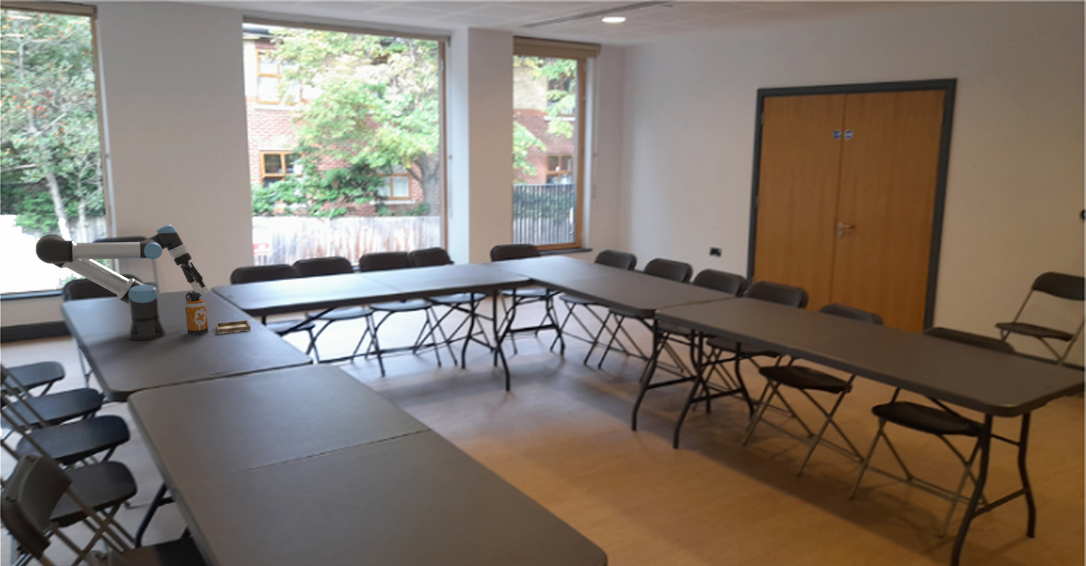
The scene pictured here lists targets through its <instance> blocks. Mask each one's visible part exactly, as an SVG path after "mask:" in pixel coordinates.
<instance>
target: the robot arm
mask: <svg viewBox="0 0 1086 566" xmlns="http://www.w3.org/2000/svg"><path fill="white" fill-rule="evenodd" d="M156 233H157V234H155V235H154V236H151V237H148V238H146V239H144V240H141V241H132V242H131V241H127V242H126V241H125V242H75V241H74V240H66V239H65V238H63V237H62V236H60V235H58V234H46V235H44V236H42V237H40V238H39V239H38V240H37V242H36V244H35V254H36V256H37V258H38V259H39V260H41V262H43V263H46V264H52V265H54V266H56V267H57V268H59V269H64V268H67V269H69V270H70V271H72V272H74V273H76V274H78V275H80V276H82V277H83V278H85V279H87V280H89V281H91V282H93V283H95V284H97V285H99V286H101V287H103V288H104V289H106V290H108V291H110V292H111V293H113V294H116V296H117V299H118V300H119V301H121V302H123V303H124V304H127V305H129V308H130V316H131V323H130V328H129V332H128V338H130V339H129V340H131V339H132V341H147V340H148V339H150V340H155V338H156V339H159V338H163V337H164V335H165V336H166V329H165V327H164V325H163V323H162V321H161V318H160V317H161V316H160V308H159V297H158V295H159V294H158V290H157V288H156V286H154V285H150V284H146V283H143V282H141V281H139V280H137V279H135V278H134V277H132V278H127V277H125V276H123V275H121V274H119V273H118V272H116V271H114V270H112V269H110V268H108V267H107V266H105V265H103V264H102V263H100V262H98V261H96V260H120V259H121V260H122V259H123V260H124V259H149V260H156V259H159V258H160V257H161V256H162V254H163V250H165V249H166V250H167V252H168V253H169V255H170V256H171V258H173V262H174V263H175V265H176V266H179V267H180V268H181V270H182V273H183V274H184V277H185V279H186V282H187V283H189V284H190V286H191V288H192V289H193V291H194V292H196V293H200V294H203V295H206V294H208V293H210V291H209V289H208V287H207V285H206V283H205V282H204V280H203V276H202V275H201V274H200V272H199V271H198V270H197V268H196V267H195V266H194V264H193V262H191V260H192V256H191V254H190V252H188V250H187V245H185V244H184V242H183V240H182V239H181V237H180V235H179V234H178V232H177V230H176V229H175V227H174V225H173V224H166V225H164V226H162V227H160V228H157V230H156ZM162 336H163V337H162ZM148 341H149V340H148Z"/></svg>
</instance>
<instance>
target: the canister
mask: <svg viewBox="0 0 1086 566" xmlns="http://www.w3.org/2000/svg"><path fill="white" fill-rule="evenodd" d="M200 297H202V293H196V292H195V291H194V290H193V291H192V292H190V291H188V292H187V293H186V295H185V301H186V302H185V305H186V306H185V308H184V309H185V310H184V311H185V319H186V328H187V329H186V330H187V334H189V335H192V334H194V335H193V336H197V335H196V334H199V335H203V333H204V334H205V333H207V332H209V325H208V323H209V322H208V315H207V313H208V312H207V305H206V304H205V300H204V299H202V298H200Z"/></svg>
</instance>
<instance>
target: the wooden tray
mask: <svg viewBox="0 0 1086 566" xmlns="http://www.w3.org/2000/svg"><path fill="white" fill-rule="evenodd" d="M215 329H216V332H217V333H216V334H217V335H222V334H221V333H226V334H231V332H235V333H241V332H240V331H244V332H248V331H247V330H251V324H250V323H249V321H248V320H247V319H245V320H244V319H243V320H236V321H225V322H218V323H217V322H216V323H215Z"/></svg>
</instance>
